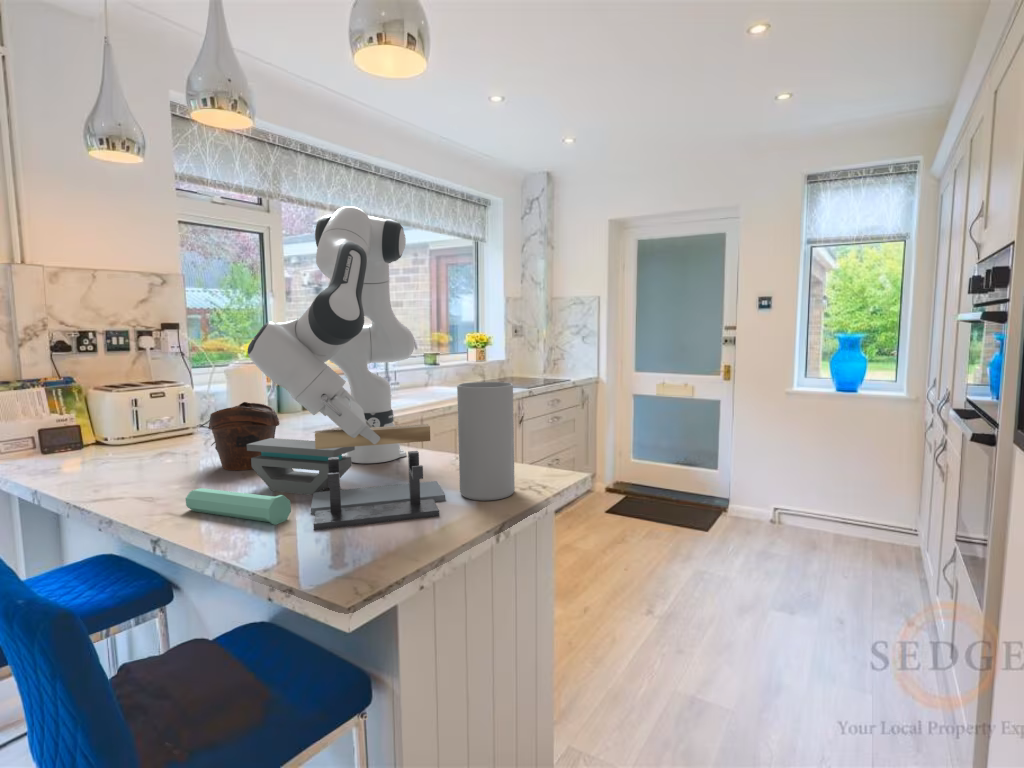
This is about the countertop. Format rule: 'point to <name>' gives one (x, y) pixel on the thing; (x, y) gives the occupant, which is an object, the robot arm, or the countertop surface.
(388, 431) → the oak rail
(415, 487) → the hook stand
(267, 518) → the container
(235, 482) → the countertop surface
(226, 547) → the countertop surface
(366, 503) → the rubber mat
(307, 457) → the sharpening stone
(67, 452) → the countertop surface
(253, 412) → the brown tapered pot
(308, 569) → the countertop surface
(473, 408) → the cylinder vase
